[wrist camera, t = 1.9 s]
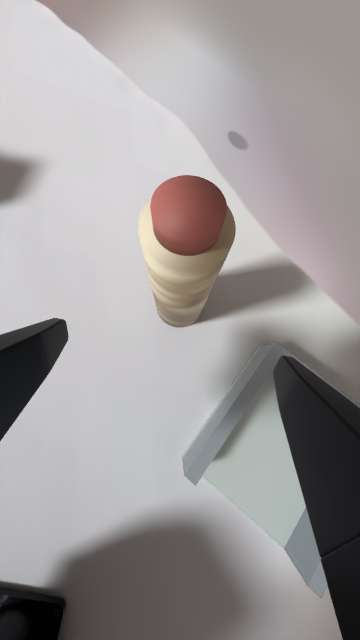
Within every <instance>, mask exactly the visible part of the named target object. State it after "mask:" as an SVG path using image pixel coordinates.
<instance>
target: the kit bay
mask: <svg viewBox="0 0 360 640" xmlns="http://www.w3.org/2000/svg"><path fill="white" fill-rule="evenodd" d="M283 355H285V356H291V357H293V358H295V359H296V360H297V361H299V362H300V363H301V364H303V365H304V366H305V367H307V368H308V369H309V370H311V371H312V372H313V373H314V374H316V375H317V376H318V377H320V378H321V379H322V380H324V381H325V382H326V383H328V384H329V385H330V386H332V387H333V388H334V389H336V390H337V391H338V392H339V393H341V394H342V395H343V396H345V397H346V398H347V399H349V400H350V401H351V402H353V403H354V404H355V405H357V406H358V407H359V408H360V404H358V403H357V402H356V401H354V400H353V399H352V398H350V397H349V396H348V395H346V394H345V393H344V392H342V391H341V390H340V389H338V388H337V387H335V386H334V385H333V384H331V383H330V382H329V381H327V380H326V379H325V378H323V377H322V376H321V375H319V374H318V373H317V372H315V371H314V370H313V369H311V368H310V367H308V366H307V365H306V364H304V363H303V362H302V361H300V360H299V359H298V358H296V357H295V356H294V355H292V354H291V353H290V352H288V351H287V350H286V349H284V348H283V347H281V346H280V345H279V344H277V343H276V342H273V343H270V344H267V345H263V346H260V347H258V348H257V349H256V351H255V352H254V354H253V355H252V357H251V358H250V359H249V361H248V362H247V364H246V365H245V367H244V368H243V369H242V371H241V372H240V374H239V375H238V377H237V378H236V380H235V381H234V382H233V384H232V385H231V387H230V388H229V390H228V391H227V392H226V394H225V395H224V397H223V398H222V400H221V401H220V402H219V404H218V405H217V407H216V408H215V410H214V411H213V413H212V414H211V415H210V417H209V418H208V420H207V421H206V423H205V424H204V425H203V427H202V428H201V430H200V431H199V433H198V434H197V435H196V437H195V438H194V440H193V441H192V443H191V444H190V445H189V447H188V448H187V450H186V451H185V453H184V454H183V456H182V459H183V468H184V476H185V477H187V478H188V479H189V480H190V481H191V482H192V483H193V484H194V485H195V486H196V484H197V483H198V481H199V480H200V478H201V477H204V478H205V479H206V480H207V481H208V482H209V483H210V484H212V485H213V486H214V487H215V488H216V489H217V490H218V491H219V492H221V493H222V494H223V495H224V496H225V497H226V498H227V499H228V500H230V501H231V502H232V503H233V504H234V505H235V506H236V507H238V508H239V509H240V510H241V511H242V512H243V513H244V514H245V515H247V516H248V517H249V518H250V519H251V520H252V521H253V522H254V523H256V524H257V525H258V526H259V527H260V528H261V529H262V530H263V531H265V532H266V533H267V534H268V535H269V536H270V537H271V538H273V539H274V540H275V541H276V542H277V543H278V544H279V545H280V546H282V547H283V548H284V550H285V551H286V553H287V554H288V556H289V557H290V559H291V561H292V562H293V564H294V565H295V567H296V568H297V570H298V572H299V573H300V575H301V576H302V578H303V580H304V581H305V583H306V584H307V586H308V587H309V588H310V589H311V590H313V591H314V592H315V593H316V594H317V595H318V596H319V597H320V598H322V596H323V594H324V592H325V590H326V588H327V581H326V578H325V574H324V570H323V567H322V563H321V557H320V555H319V552H318V548H317V545H316V541H315V537H314V534H313V530H312V527H311V523H310V519H309V516H308V512H307V509H306V505H305V502H304V498H303V494H302V491H301V487H300V484H299V480H298V476H297V473H296V469H295V466H294V462H293V459H292V455H291V451H290V448H289V444H288V441H287V437H286V433H285V430H284V426H283V423H282V419H281V416H280V412H279V407H278V402H277V396H276V389H275V383H274V377H273V371H274V369H275V366H276V364H277V362H278V360H279V358H280V357H281V356H283Z"/></svg>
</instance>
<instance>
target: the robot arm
mask: <svg viewBox="0 0 360 640" xmlns="http://www.w3.org/2000/svg"><path fill="white" fill-rule="evenodd" d="M67 341H68V331H67V325H66V321H65V320H63V319H58V318H53V319H49V320H46V321H43V322H40V323H37V324H33V325H30V326H27V327H24V328H21V329H18V330H14V331H11V332H8V333H5V334H2V335H0V441H1V440H2V438H3V437H4V435H5V434H6V433H7V431H8V430H9V428H10V427H11V426H12V424H13V423H14V421H15V420H16V419H17V417H18V416H19V414H20V413H21V412H22V410H23V409H24V407H25V406H26V405H27V403H28V402H29V400H30V399H31V398H32V396H33V395H34V394H35V392H36V391H37V389H38V388H39V387H40V385H41V384H42V382H43V381H44V380H45V378H46V377H47V375H48V374H49V372H50V371H51V369H52V368H53V366H54V364H55V362H56V361H57V359H58V357H59V355H60V353H61V352H62V350H63V348H64V346H65V345H66V343H67ZM273 377H274V383H275V389H276V396H277V402H278V407H279V412H280V416H281V419H282V423H283V426H284V430H285V433H286V437H287V441H288V444H289V448H290V451H291V455H292V459H293V462H294V466H295V469H296V473H297V476H298V480H299V484H300V487H301V491H302V494H303V498H304V502H305V505H306V509H307V512H308V516H309V519H310V523H311V527H312V530H313V534H314V537H315V541H316V545H317V548H318V552H319V555H320V557H321V563H322V567H323V570H324V574H325V578H326V581H327V585H328V588H329V592H330V595H331V599H332V603H333V606H334V610H335V613H336V617H337V620H338V624H339V628H340V631H341V635H342V638H343V640H360V408H359V407H358V406H357V405H355V404H354V403H353V402H351V401H350V400H349V399H347V398H346V397H345V396H343V395H342V394H341V393H339V392H338V391H337V390H336V389H334V388H333V387H332V386H330V385H329V384H328V383H326V382H325V381H324V380H322V379H321V378H320V377H318V376H317V375H316V374H314V373H313V372H312V371H311V370H309V369H308V368H307V367H305V366H304V365H303V364H301V363H300V362H299V361H297V360H296V359H295V358H293V357H291V356H285V355H283V356H281V357H280V358H279V360H278V362H277V364H276V366H275V369H274V371H273ZM55 608H58V609H59V610H60V611H56V609H55ZM65 609H66V603H65V600H64V599H62V598H58V597H52V596H46V595H39V594H33V593H27V592H21V591H15V590H8V589H2V588H0V640H59V637H60V632H61V628H62V623H63V618H64V614H65Z"/></svg>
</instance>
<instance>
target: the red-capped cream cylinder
mask: <svg viewBox="0 0 360 640" xmlns="http://www.w3.org/2000/svg"><path fill="white" fill-rule="evenodd" d="M138 232H139V237H140V242H141V246H142V250H143V254H144V258H145V262H146V266H147V270H148V274H149V278H150V282H151V286H152V290H153V294H154V298H155V302H156V306H157V310H158V313H159V316H160V317H161V319H162V320H163V321H164V322H165V323H167V324H169V325H171V326H173V327H186V326H189V325H191V324H193V323H194V322H195V321H196V320H197V319H198V318H199V316H200V314H201V312H202V310H203V307H204V305H205V303H206V301H207V299H208V296H209V294H210V292H211V290H212V288H213V286H214V283H215V281H216V279H217V277H218V275H219V272H220V270H221V268H222V266H223V264H224V261H225V259H226V257H227V255H228V253H229V250H230V248H231V246H232V244H233V241H234V238H235V221H234V217H233V215H232V213H231V211H230V209H229V207H228V206H227V203H226V200H225V197H224V195H223V194H222V192H221V191H220V189H219V188H218V187H217V186H216V185H214V184H213V183H212V182H210V181H208V180H206V179H204V178H201V177H197V176H190V175H184V176H177V177H174V178H171V179H169V180H167V181H165V182H164V183H162V184H161V185H160V186H159V187H158V188H157V189H156V190H155V192H154V194H153V196H152V198H151V199H150V200H149V201H148V202H147V203H146V204H145V206H144V207H143V209H142V211H141V213H140V216H139V221H138Z"/></svg>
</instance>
